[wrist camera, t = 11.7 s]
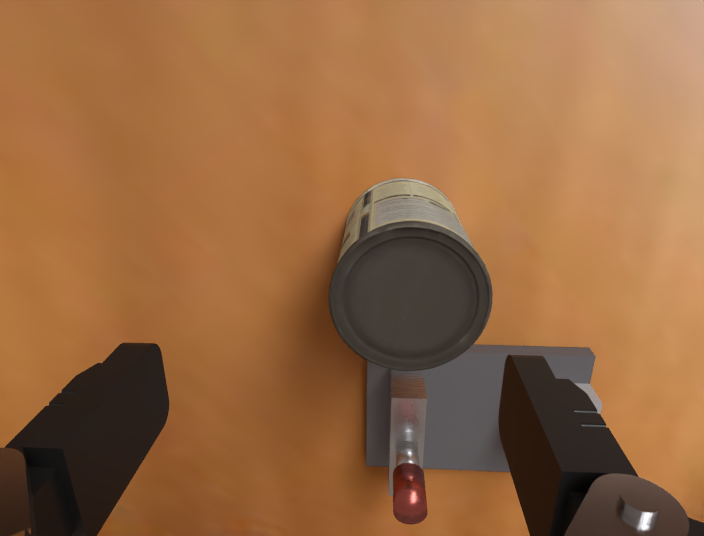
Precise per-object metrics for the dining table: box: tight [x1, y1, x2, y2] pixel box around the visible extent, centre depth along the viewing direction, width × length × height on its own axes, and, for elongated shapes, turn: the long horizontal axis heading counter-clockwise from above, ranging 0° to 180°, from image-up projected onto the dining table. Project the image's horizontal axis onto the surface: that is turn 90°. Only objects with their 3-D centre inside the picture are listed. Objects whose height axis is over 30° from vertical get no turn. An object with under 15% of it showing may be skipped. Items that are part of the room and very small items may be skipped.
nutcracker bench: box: [366, 345, 602, 472], centre depth 49 cm, size 21×14×4 cm, turn 90°
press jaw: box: [388, 369, 427, 524], centre depth 44 cm, size 3×11×12 cm, turn 0°
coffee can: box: [329, 178, 492, 371], centre depth 38 cm, size 10×10×14 cm
